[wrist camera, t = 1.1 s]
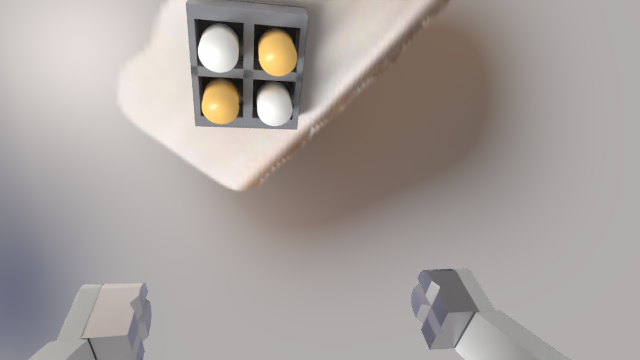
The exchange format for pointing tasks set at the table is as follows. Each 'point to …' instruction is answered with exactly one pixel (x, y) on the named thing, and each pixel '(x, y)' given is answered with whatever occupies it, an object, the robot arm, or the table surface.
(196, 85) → the grey egg tray
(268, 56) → the button
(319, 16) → the table surface
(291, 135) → the table surface
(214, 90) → the button
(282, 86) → the button
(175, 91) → the table surface
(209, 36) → the button
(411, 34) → the table surface
